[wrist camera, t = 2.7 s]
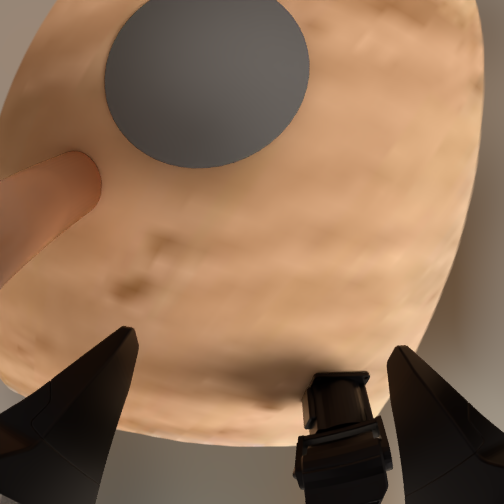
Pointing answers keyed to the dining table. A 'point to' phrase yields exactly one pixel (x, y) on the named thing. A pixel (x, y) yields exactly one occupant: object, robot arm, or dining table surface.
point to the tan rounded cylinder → (43, 206)
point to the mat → (206, 79)
